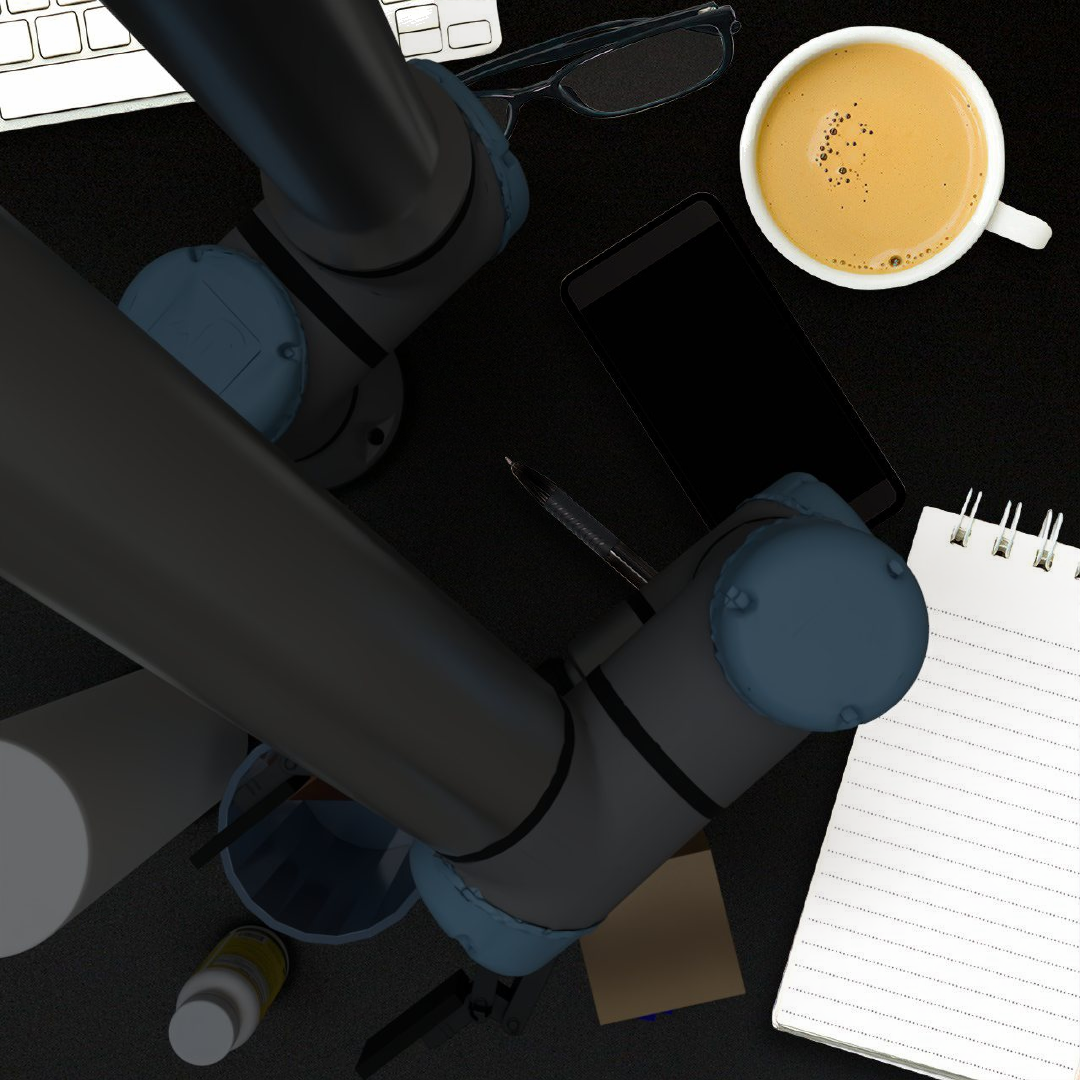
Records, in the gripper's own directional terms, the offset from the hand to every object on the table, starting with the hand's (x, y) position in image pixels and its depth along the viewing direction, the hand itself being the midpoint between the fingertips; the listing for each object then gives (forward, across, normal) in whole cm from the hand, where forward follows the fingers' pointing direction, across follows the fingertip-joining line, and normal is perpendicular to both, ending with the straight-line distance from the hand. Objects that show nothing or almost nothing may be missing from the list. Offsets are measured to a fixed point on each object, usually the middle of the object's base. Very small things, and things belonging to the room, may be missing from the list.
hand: (283, 957), depth 50 cm
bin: (-1, +3, -27) cm, 27 cm away
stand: (-16, -12, -27) cm, 33 cm away
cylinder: (+11, +15, -27) cm, 33 cm away
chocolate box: (-1, +3, -26) cm, 26 cm away
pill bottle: (+17, -3, -27) cm, 32 cm away
